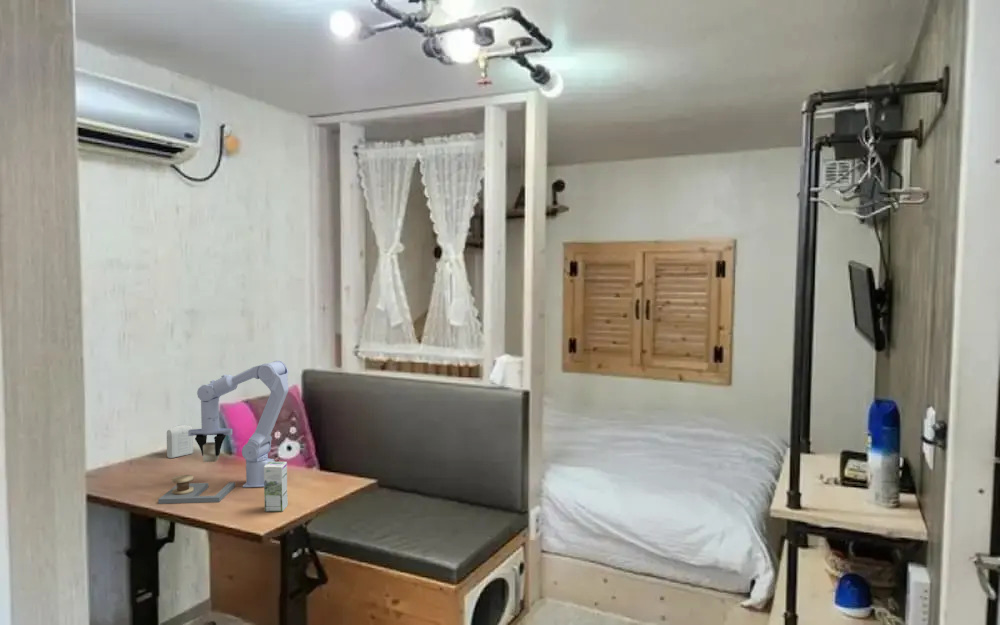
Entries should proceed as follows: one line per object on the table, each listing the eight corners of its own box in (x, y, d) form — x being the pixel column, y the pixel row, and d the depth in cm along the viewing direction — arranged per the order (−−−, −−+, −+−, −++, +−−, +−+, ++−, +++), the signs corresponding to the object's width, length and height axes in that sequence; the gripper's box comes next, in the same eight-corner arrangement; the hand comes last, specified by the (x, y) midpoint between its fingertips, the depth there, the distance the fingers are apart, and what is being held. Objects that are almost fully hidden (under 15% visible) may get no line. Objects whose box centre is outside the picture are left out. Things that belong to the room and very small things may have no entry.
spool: (196, 488, 219) (196, 474, 219) (189, 494, 213) (188, 480, 213) (177, 488, 219) (176, 475, 219) (169, 495, 212) (168, 481, 212)
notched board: (235, 486, 226) (235, 482, 226) (219, 502, 210) (219, 497, 210) (178, 487, 224) (178, 483, 224) (158, 503, 209) (158, 499, 208)
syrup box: (288, 505, 207) (287, 460, 206) (282, 512, 201) (281, 466, 200) (270, 505, 207) (269, 460, 206) (263, 512, 201) (263, 466, 200)
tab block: (218, 458, 233) (218, 442, 233) (215, 461, 229) (214, 445, 229) (207, 458, 233) (207, 442, 232) (203, 462, 229) (202, 445, 228)
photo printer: (189, 452, 271) (188, 422, 271) (195, 453, 269) (194, 424, 268) (165, 457, 263) (164, 427, 262) (171, 459, 260) (170, 428, 260)
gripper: (234, 414, 235) (235, 451, 235) (193, 415, 233) (194, 452, 234) (228, 418, 228) (229, 457, 228) (185, 419, 226) (186, 458, 227)
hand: (211, 455), depth 231 cm, fingers closed on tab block, 4 cm apart
